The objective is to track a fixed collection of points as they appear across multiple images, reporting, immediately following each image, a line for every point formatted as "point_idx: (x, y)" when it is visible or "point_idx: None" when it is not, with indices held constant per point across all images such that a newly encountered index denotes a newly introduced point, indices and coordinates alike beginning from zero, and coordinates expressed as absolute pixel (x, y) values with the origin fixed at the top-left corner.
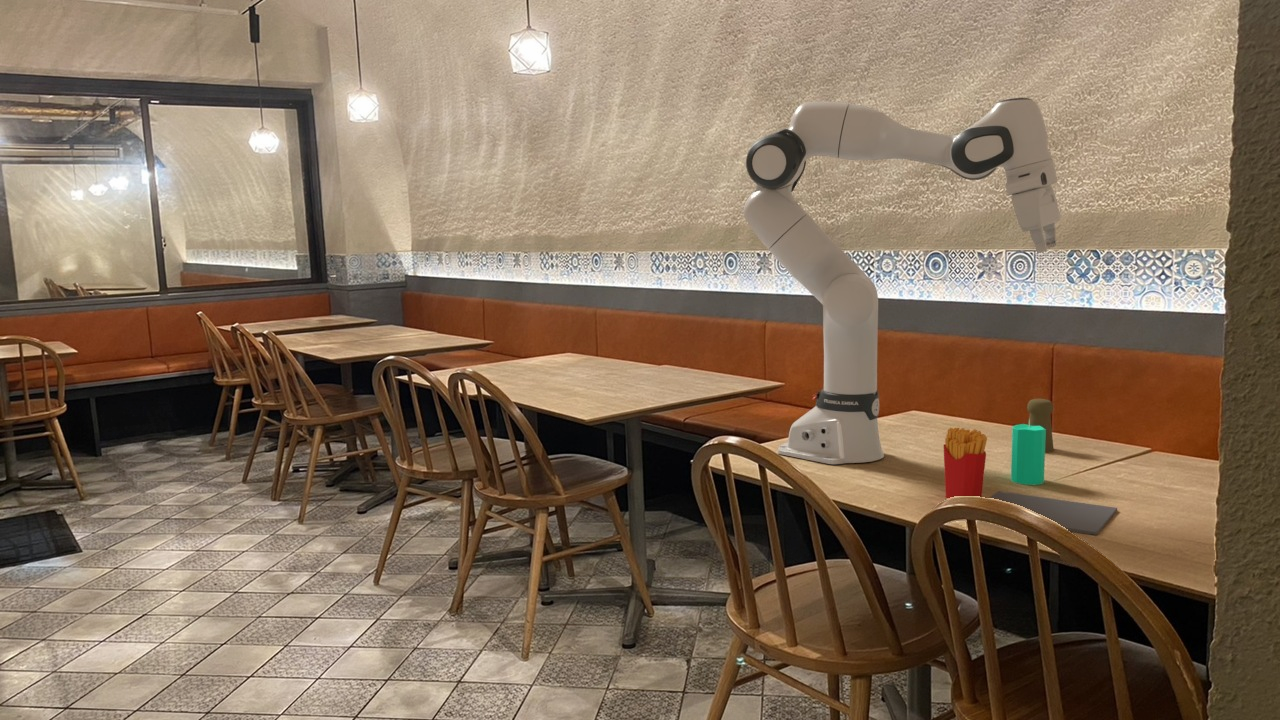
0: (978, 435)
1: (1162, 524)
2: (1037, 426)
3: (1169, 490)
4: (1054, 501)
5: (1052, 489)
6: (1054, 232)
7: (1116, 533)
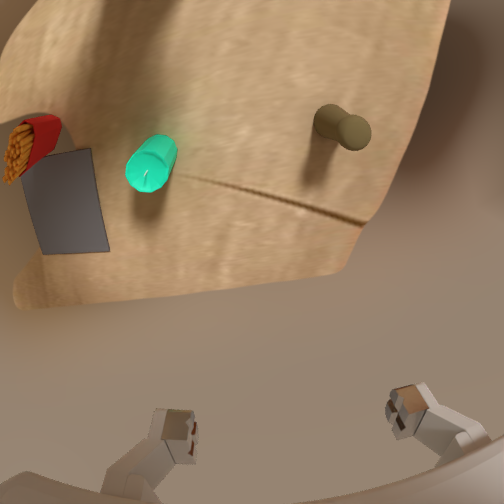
0: (6, 176)
1: (100, 281)
2: (164, 176)
3: (207, 268)
4: (90, 205)
5: None
6: (430, 448)
7: (57, 262)
